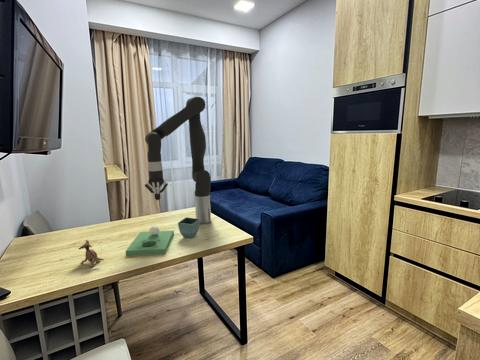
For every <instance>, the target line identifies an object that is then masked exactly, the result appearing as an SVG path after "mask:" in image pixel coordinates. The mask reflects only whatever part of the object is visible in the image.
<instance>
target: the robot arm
mask: <svg viewBox="0 0 480 360" xmlns="http://www.w3.org/2000/svg"><path fill="white" fill-rule="evenodd" d="M205 108H206V101H205V99H204V98H203V97H202V96H199V95H198V96H192V97H189V98H188V99H187V101H186V103H185V106H184V107H183V108H182V109H181V110H179V111H178V112H177V113H175V114H172V116H170V117H169V118H167V119H166V120H165V121H163V122H162V123H161V124H159V126H157V127H155V128H154V129H152V130H151V131H150V132H148V133H147V134H145V135H146V136H145V138H144V139H145V140H144V141H145V143H146V144H147V148H148V151H147V171H148V180H147V182H146V184H144V187H145V188H146V189H147V190H148V191H149V192H150V194H154V199H155V200H156V201H159V200H160V199H161V194H162V193H163V192H164V191H165V190H166V188H167V187H168V186H169V183H168V182H166V181H165V179H164V172H163V164H162V153H161V151H162V140H163V139H164V138H165V137H168V136H169V135H172V133H174V132H175V131H176V130H177V129H179V127H181V126H182V125H183V124H184V123H186V122H188V129H189V130H188V131H189V143H190V144H189V145H190V152H191V153H190V154H191V161H192V165H191V177H192V180H193V182H194V183H196V184H195V185H196V186H195V188H196V189H195V190H194V205H195V206H194V208H195V210H194V211H195V218H196V219H200V222H199V225H200V224H201V225H202V224H203V225H205V224H208V223H209V224H210V223H212V216H211V215H212V212H211V210H212V209H211V196H210V195H211V186H212V181H211V179H212V178H211V174H210V172H209V171H208V170H206V169H205V164H204V159H205V154H206V149H207V142H206V138H207V137H206V134H205V131H204V129H203V126H202V122H201V113H202V112H204V110H205Z"/></svg>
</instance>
